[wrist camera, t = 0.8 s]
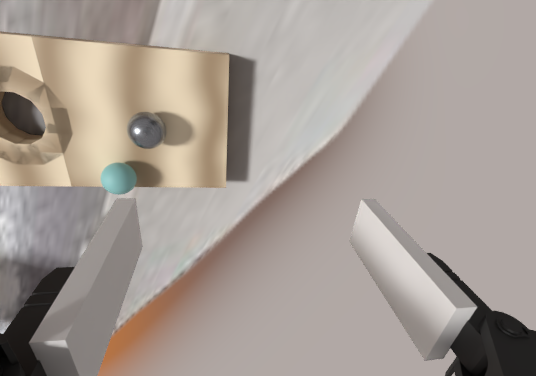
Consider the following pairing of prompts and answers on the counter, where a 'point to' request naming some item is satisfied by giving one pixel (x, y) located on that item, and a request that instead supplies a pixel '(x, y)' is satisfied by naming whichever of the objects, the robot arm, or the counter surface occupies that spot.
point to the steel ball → (146, 130)
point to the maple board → (113, 112)
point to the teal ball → (118, 178)
